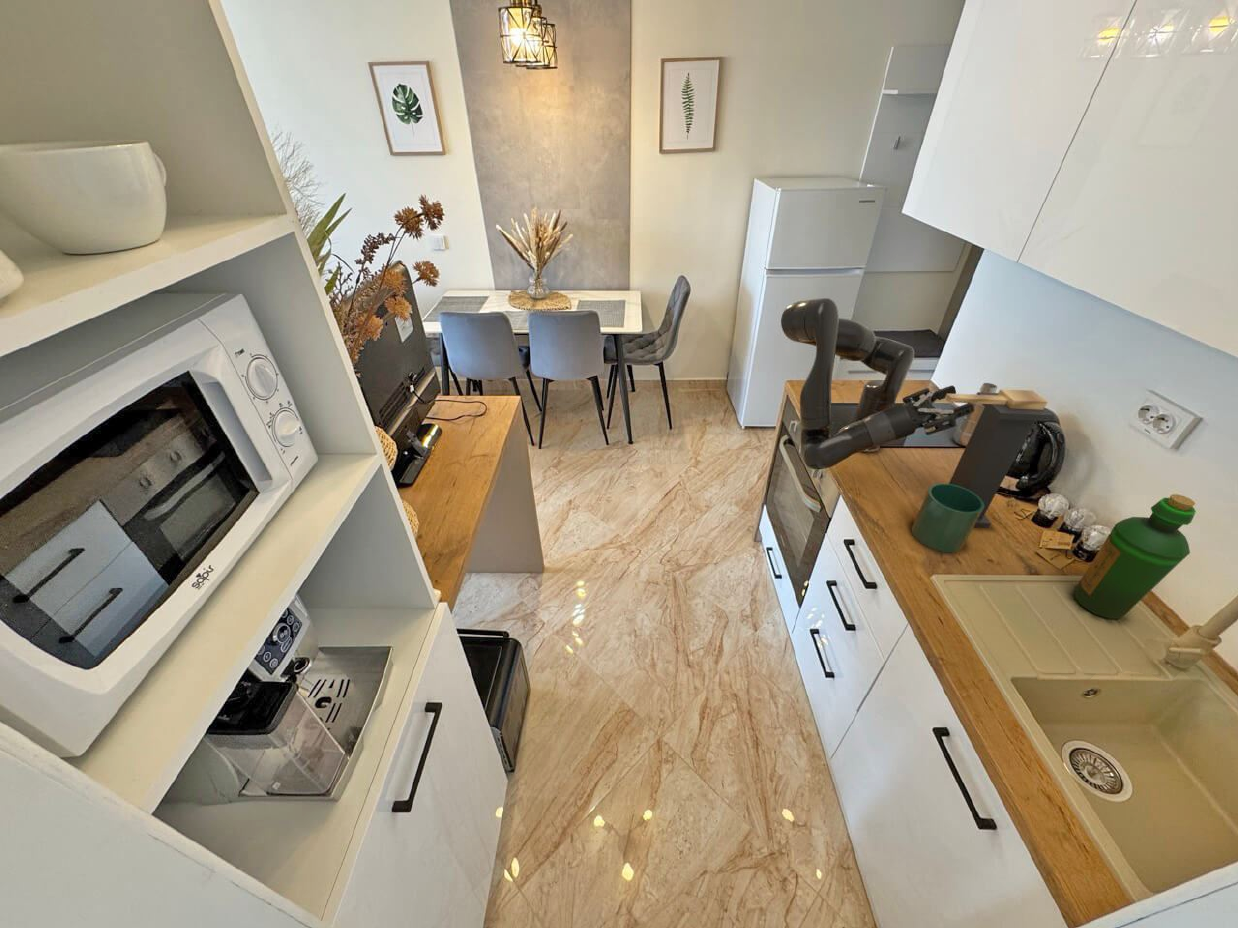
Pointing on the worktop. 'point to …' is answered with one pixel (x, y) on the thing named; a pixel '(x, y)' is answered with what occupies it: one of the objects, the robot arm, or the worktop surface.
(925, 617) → the worktop surface
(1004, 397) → the spatula
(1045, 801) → the worktop surface
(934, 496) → the crock
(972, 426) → the plastic bottle
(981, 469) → the stand
